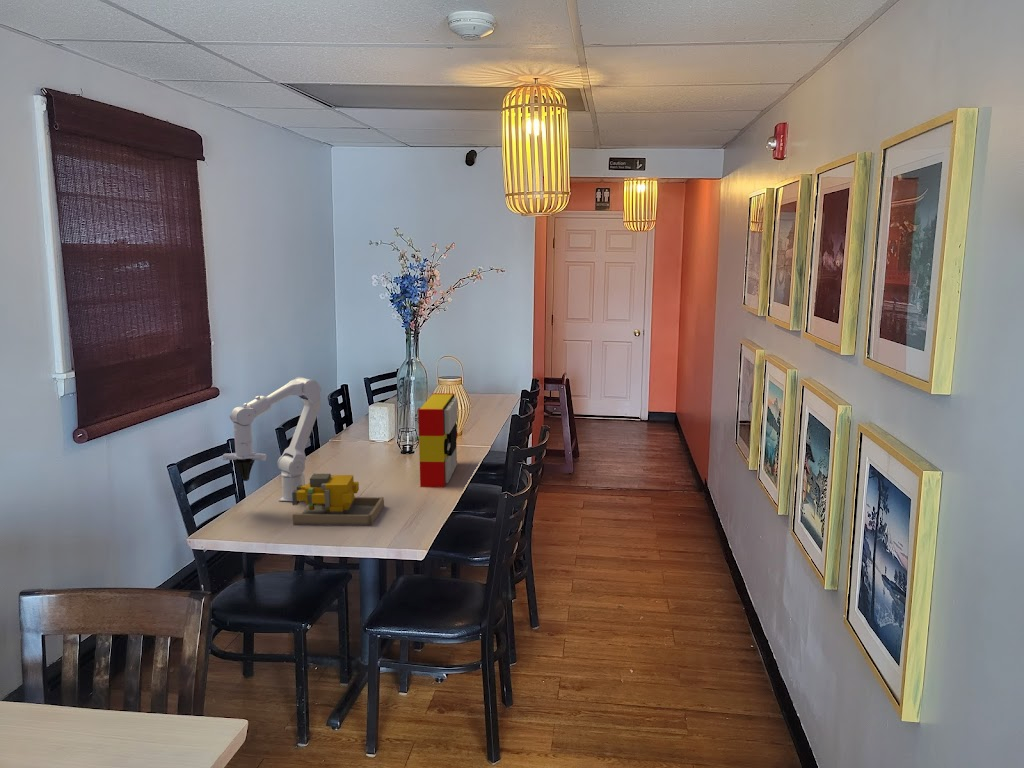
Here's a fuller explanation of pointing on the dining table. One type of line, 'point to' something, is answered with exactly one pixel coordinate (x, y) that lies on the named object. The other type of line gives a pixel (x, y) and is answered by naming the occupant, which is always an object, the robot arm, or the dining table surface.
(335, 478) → the toy
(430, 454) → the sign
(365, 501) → the tray
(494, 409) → the dining table surface
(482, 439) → the dining table surface
